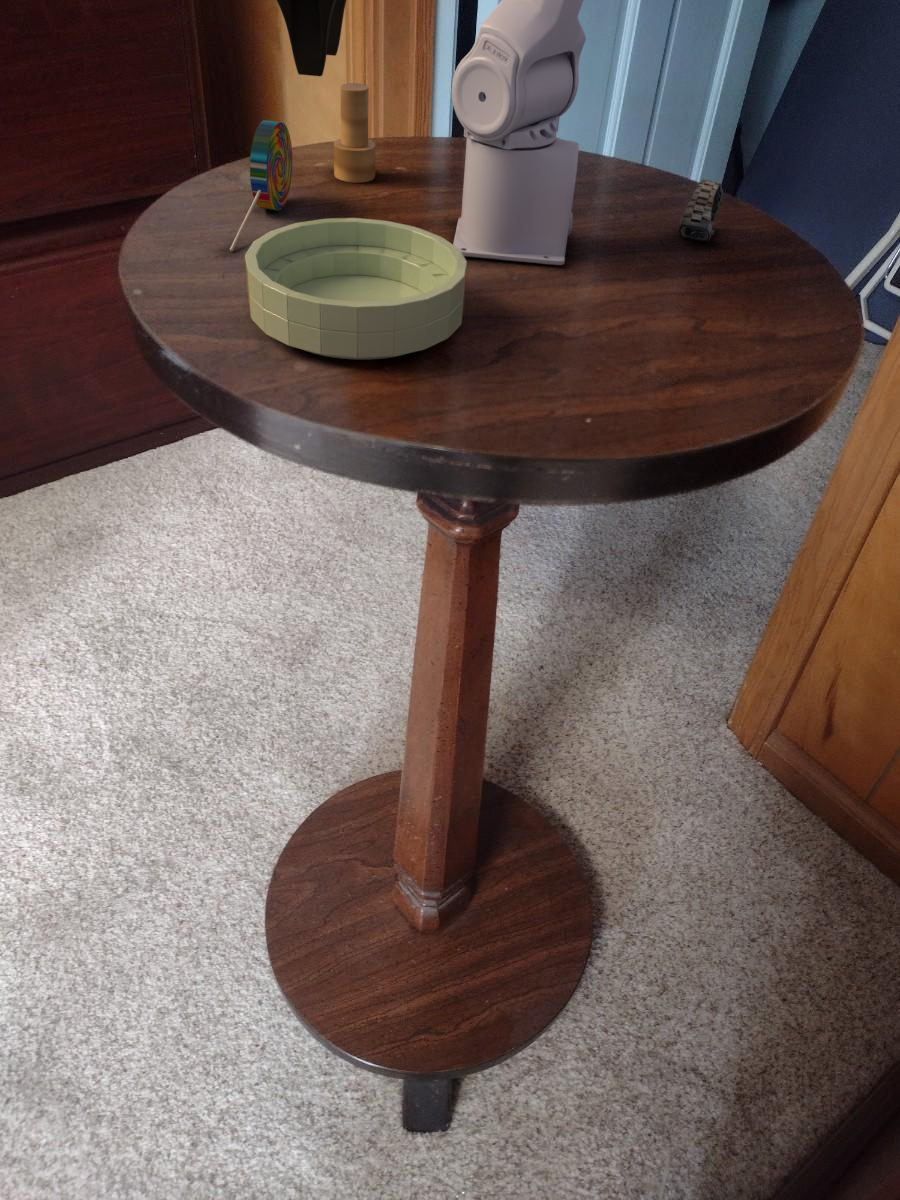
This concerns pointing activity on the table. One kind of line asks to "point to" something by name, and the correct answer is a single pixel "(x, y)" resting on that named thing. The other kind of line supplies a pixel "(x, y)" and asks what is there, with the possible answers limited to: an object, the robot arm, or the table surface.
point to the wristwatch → (701, 212)
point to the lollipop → (269, 168)
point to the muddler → (354, 137)
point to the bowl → (355, 287)
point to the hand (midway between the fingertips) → (318, 64)
